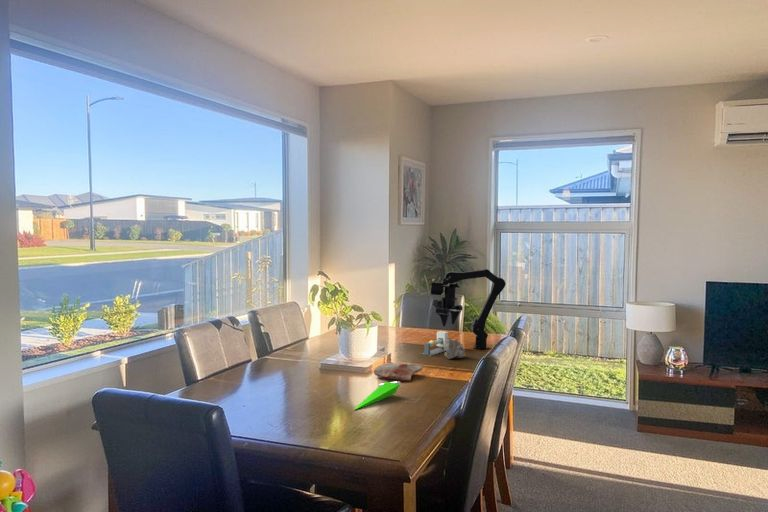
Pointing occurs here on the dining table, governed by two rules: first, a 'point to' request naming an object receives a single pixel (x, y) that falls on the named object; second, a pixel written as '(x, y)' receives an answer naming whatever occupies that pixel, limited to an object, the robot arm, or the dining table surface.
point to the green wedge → (380, 393)
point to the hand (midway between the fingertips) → (448, 325)
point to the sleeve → (442, 335)
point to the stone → (397, 371)
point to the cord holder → (432, 344)
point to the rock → (453, 349)
